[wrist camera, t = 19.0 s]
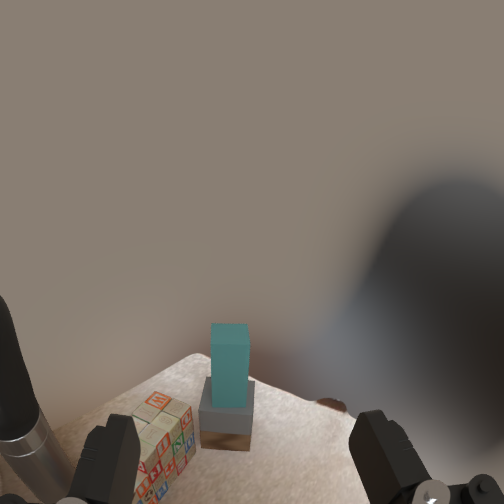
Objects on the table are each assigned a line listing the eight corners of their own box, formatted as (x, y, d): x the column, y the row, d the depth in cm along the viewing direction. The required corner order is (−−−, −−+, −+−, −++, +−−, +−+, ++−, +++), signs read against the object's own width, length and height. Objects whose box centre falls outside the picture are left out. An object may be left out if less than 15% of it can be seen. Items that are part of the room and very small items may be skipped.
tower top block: (200, 430, 43) (198, 410, 41) (207, 397, 50) (206, 376, 49) (251, 435, 42) (253, 415, 41) (252, 401, 50) (254, 380, 48)
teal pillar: (212, 407, 42) (210, 343, 38) (212, 385, 47) (211, 323, 43) (245, 407, 42) (250, 344, 39) (243, 385, 47) (247, 323, 43)
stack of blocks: (127, 543, 24) (99, 512, 20) (92, 520, 26) (60, 482, 22) (196, 451, 43) (191, 404, 39) (164, 437, 45) (155, 389, 41)
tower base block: (201, 448, 44) (199, 431, 42) (206, 415, 51) (205, 397, 50) (249, 451, 44) (251, 434, 42) (249, 418, 52) (251, 400, 50)
